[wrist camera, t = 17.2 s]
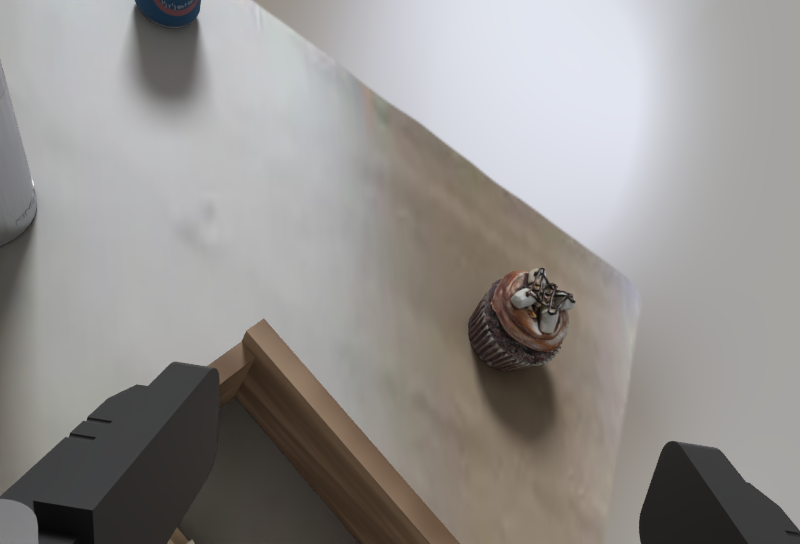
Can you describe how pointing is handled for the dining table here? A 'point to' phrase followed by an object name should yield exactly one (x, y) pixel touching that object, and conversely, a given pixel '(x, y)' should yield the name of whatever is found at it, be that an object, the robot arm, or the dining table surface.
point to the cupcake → (520, 321)
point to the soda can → (170, 11)
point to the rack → (323, 444)
